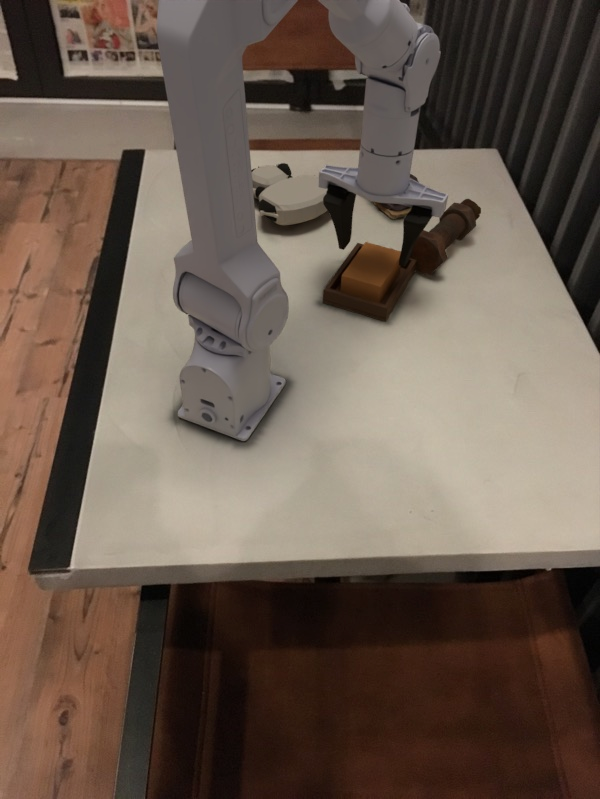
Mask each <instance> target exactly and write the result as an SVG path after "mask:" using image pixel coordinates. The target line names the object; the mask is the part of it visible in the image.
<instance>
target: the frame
mask: <svg viewBox="0 0 600 799" xmlns="http://www.w3.org/2000/svg"><path fill="white" fill-rule="evenodd" d="M363 245H364V243H361V242H356V244H355V245H354V247H353V248H352V250H351V251H350V252H349V253H348V255H347V256H346V258H345V259H344V260H343V262H342V263H341V265H340V266H339V267H338V269H337V270H336V272H335V273H334V274H333V276H332V277H331V278H330V280H329V281H328V283H327V284H326V285H325V286H324V288H323V290H322V303H323V304H325V305H329V306H333V307H336V308H339V309H342V310H346V311H349V312H352V313H356V314H359V315H362V316H366V317H368V318H373V319H376V320H379V321H381V322H385V323H386V322H387V321H388V320H389V317H390V316H391V314H392V312H393V311H394V308H395V307H396V305H397V304H398V302H399V300H400V299H401V297H402V296H403V293H404V292H405V290H406V288H407V287H408V285H409V284H410V282H411V280H412V278H413V277H414V275H415V273H416V271H415V267H416V262H417V260H415V259H412V258H410V259H409V260H408V262H407V264H406V265H405V266H401V267H400V272H399V274H398V275H397V277H396V278H395V280H394V282H393V283H392V285H391V287H390V288H389V290H388V291H387V293H386V295H385V296H384V298H383V300H382V301H381V303H378V302H374V301H371V300H368V299H364V298H361V297H357V296H354V295H351V294H347V293H344V292H340V290H341V278H342V274H343V273H344V272H345V270H346V269H347V267H348V266H349V264H350V263H351V262H352V260H353V259H354V257H355V256H356V255H357V253H358V252H359V250H360V249H361V248H362V246H363Z"/></svg>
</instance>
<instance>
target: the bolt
mask: <svg viewBox="0 0 600 799" xmlns="http://www.w3.org/2000/svg"><path fill="white" fill-rule="evenodd" d="M480 214H482V208H481V206H479V205H478V204H477V202H475V201H473V200H472V199H470V198H465V199H463V200H462V201H461V202H452V204H450V205H449V207H448V208H446V209H445V211H444V213H443V215H442V216H441V218H439V217H438V220H439V222H438V223H436V224H435V226H434V227H432V228H431V229H430V230H429V231H427V230H425V229H424V230H423V231H422V232H421V233H420V235H419V236H418V238H417V240H416V242H415V245H414V247H413V249H412V252H411V255H410V258H412V259H415V260H417V262H416V267H415V272H416V273H420V274H423V275H432V274H433V273H434V272H436V270H438V269H439V267H440V266H442V265H443V264H444V263H445V262H446V260H448V259H449V257H448V253H447V249H448V248H449V247H451V246H452V244H454V242H456V241H463V240H464V238H465V237H467V235H469V234H470V233H471V232H472V231H473V230H474V229H476V227H477V220H478V219H479V218H480V216H481V215H480Z"/></svg>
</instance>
